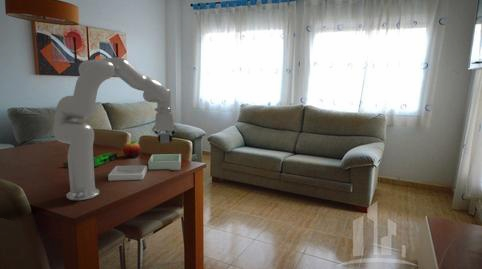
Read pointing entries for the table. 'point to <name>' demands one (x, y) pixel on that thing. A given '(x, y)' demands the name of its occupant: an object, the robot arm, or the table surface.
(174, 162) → the bin
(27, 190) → the table surface
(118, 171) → the tub
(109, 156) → the submachine gun
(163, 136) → the stone block
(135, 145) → the fruit
